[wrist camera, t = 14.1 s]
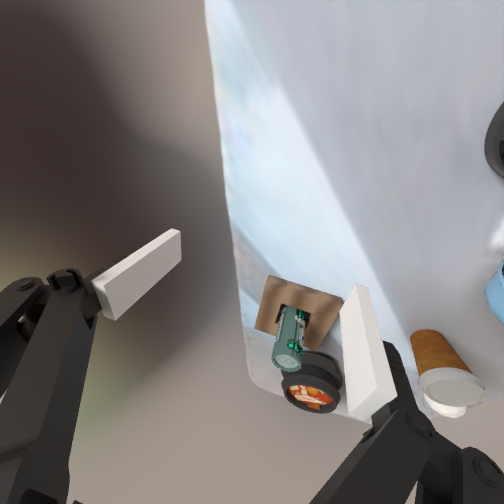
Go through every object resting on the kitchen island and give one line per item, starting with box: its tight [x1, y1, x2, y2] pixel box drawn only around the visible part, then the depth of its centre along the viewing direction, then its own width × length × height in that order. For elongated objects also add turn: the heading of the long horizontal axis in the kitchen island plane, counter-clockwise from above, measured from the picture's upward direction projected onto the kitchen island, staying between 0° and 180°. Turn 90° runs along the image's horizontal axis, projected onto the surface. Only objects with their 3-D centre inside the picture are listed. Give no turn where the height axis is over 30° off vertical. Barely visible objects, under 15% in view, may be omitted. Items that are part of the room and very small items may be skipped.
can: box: [272, 305, 306, 372], centre depth 49 cm, size 6×6×15 cm
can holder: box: [254, 275, 342, 351], centre depth 54 cm, size 18×18×3 cm
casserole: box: [281, 352, 342, 413], centre depth 63 cm, size 25×19×8 cm
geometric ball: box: [424, 393, 467, 418], centre depth 50 cm, size 8×8×8 cm
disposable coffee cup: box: [410, 330, 485, 407], centre depth 42 cm, size 10×10×12 cm
